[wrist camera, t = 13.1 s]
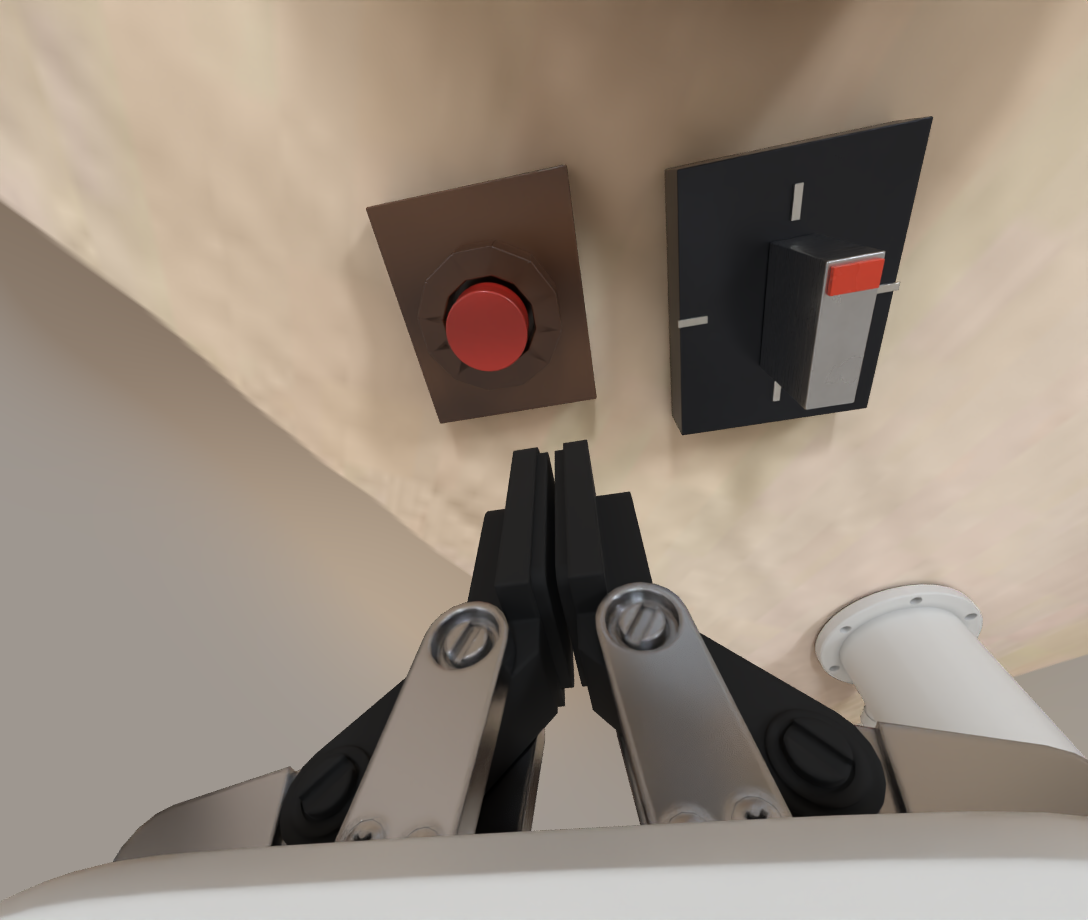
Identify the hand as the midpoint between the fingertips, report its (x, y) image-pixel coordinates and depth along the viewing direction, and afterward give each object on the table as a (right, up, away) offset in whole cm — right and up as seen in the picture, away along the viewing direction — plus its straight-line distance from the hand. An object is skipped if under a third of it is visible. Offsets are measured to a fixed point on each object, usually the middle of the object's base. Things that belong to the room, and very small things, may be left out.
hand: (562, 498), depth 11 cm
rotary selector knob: (+11, +8, +11) cm, 18 cm away
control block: (-3, +9, +14) cm, 17 cm away
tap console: (+11, +10, +13) cm, 20 cm away
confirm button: (-3, +7, +11) cm, 13 cm away
